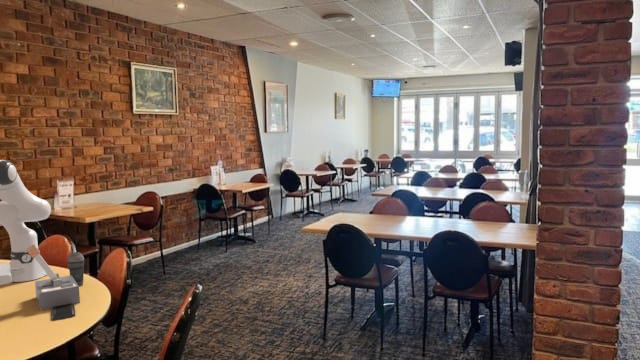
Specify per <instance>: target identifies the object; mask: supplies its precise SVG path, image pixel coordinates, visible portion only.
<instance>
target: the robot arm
mask: <svg viewBox="0 0 640 360" xmlns="http://www.w3.org/2000/svg"><path fill="white" fill-rule="evenodd" d="M0 200H1V201H0V224H1V226H3V228H4V229H5V231H6V232H7V233H8V236H9V241H10V248H11V251H10V259H11V261H9V263H0V286H1V285H8V284H12V283H22V282H29V281H35V280H38V279H41V278H43V277H46V276H48V274H47V273H46V272H45V271H44V269H43V268H42V267H41V266H40V264H39V263H38V262H37V261H36V259H35V258H34V257H33V258H32V257H31V256H30V255H29V253H28V252H27V248H29V247H31V246H32V245H35V246H36V247H37V249H38V250H39V252H40V253H41V251H40V248H39V245H38V244H39V243H38V233H37V232H36V231H35V230H34V229H33V228H32V229H31V228H29V227H27V225H26V224H25V223H27V222H28V223H30V222H32V223H33V222H40V221H44V220H46V219H48V218H49V217H50V215H51V212H52V207H51V204H50V203H49V202H48V201H47V200H46V199H43V198H40V197H38V196H36V195H35V194H33V193H32V192H31V191H29V190H28V189H27V187H26V186H25V184H24V183H23V181H22V179H21V177H20V175H19V174H18V169H17V166H16V165H15V164H14V163H12V162H11V161H7V160H5V159H0Z"/></svg>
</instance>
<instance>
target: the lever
mask: <svg viewBox="0 0 640 360" xmlns="http://www.w3.org/2000/svg"><path fill="white" fill-rule="evenodd" d="M39 251H40V249H39V250H38V249H37V247H36V246H35V245H32V246H31V247H29V248H27V252H28V253H29V255H30V256H31V257H32V258H33V257H34V258H35V259H36V261H37V262H38V263H39V264H40V266H41V267H42V268H43V269H44V271H45V272H46V273H47V274H48V275H47V276H48V277H49V279H51V280H52V281H53V280H56V279H58V277H57V276H56V275H55V274H56V272H54V271H53V269H52V268H51V267H50V266H49V264H48V263H47V262H46V260H45V259H44V258H43V256H42V255H41V251H40V252H39Z"/></svg>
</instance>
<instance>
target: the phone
mask: <svg viewBox="0 0 640 360" xmlns="http://www.w3.org/2000/svg"><path fill="white" fill-rule="evenodd" d="M75 317H76V309H75V304H73V303H72V304H66V305H60V306H54V307H52V309H51V320H52V321H59V320H65V319H71V318H75Z"/></svg>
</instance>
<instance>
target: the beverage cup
mask: <svg viewBox="0 0 640 360" xmlns="http://www.w3.org/2000/svg"><path fill="white" fill-rule="evenodd" d="M71 247H72V251H73V252H71V253H70V254H69V255H68V257H67V261H66V263H67V267H68V270H69V276H70V275H72V277H73V278H74V280H75V281H76V283H77V284H78V286H79V287H82V286H84V277H85V276H84V274H85V271H84V269H85V267H84V265H85V257H84V256H83V254H82V253H81V252H78V251H75V248H74V243H73V242H71Z"/></svg>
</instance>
